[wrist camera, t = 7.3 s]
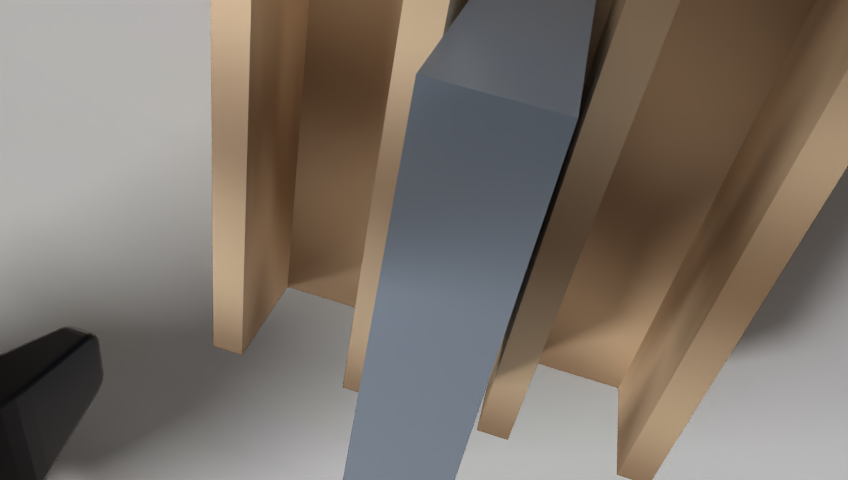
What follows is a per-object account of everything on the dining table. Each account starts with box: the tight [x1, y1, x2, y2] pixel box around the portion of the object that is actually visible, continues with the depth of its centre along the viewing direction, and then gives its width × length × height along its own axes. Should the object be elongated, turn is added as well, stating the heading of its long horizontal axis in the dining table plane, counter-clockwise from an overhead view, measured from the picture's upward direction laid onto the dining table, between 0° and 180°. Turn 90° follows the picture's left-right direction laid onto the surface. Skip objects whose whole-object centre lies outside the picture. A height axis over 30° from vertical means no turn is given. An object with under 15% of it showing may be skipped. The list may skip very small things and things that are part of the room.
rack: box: [211, 0, 848, 480], centre depth 16 cm, size 12×12×4 cm
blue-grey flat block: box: [343, 0, 596, 480], centre depth 14 cm, size 9×2×7 cm, turn 170°
